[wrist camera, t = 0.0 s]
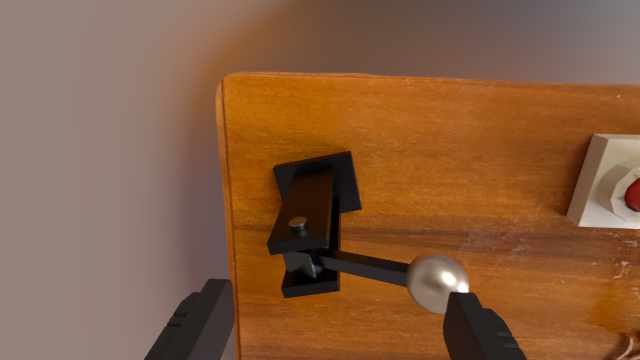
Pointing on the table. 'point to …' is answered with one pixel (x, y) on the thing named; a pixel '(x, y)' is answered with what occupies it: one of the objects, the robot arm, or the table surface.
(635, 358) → the emblem
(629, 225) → the switch box
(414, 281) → the switch lever
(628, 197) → the button
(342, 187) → the switch bracket
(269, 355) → the table surface
